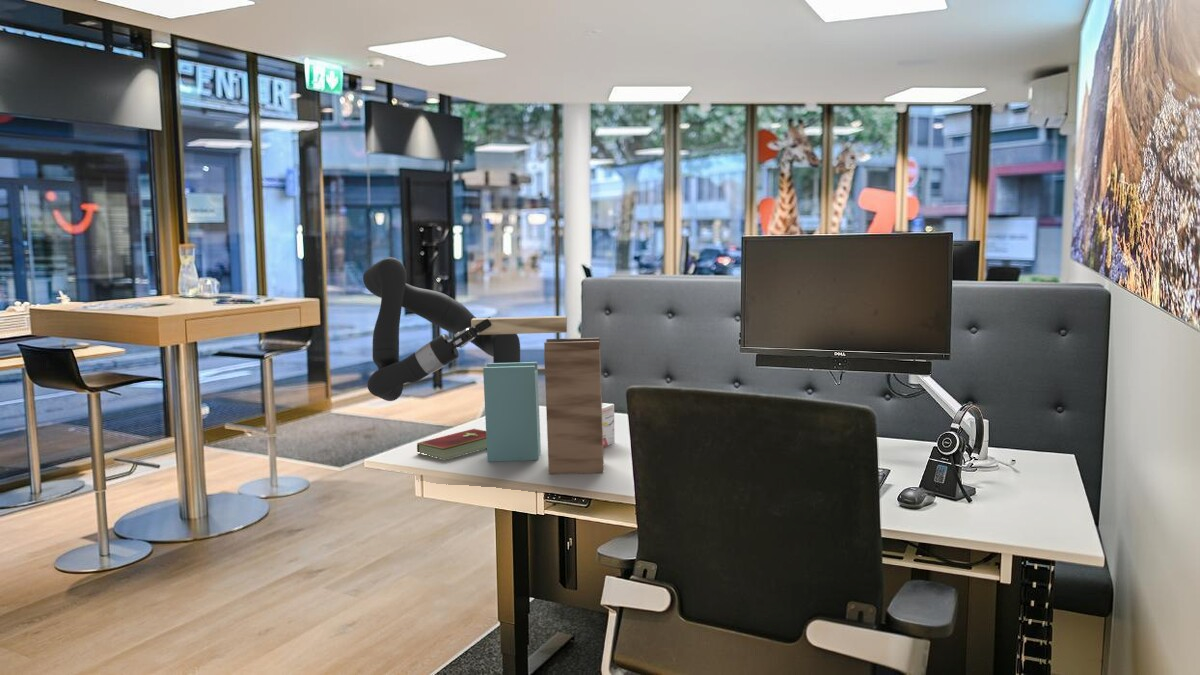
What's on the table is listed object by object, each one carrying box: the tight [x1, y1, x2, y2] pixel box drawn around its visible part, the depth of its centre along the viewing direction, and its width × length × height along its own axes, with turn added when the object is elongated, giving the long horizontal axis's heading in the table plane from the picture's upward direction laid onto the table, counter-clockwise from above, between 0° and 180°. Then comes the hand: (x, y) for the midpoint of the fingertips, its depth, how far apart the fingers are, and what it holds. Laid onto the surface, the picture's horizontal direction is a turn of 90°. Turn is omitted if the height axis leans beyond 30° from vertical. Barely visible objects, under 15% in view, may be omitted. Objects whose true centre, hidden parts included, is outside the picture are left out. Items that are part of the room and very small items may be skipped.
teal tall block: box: [482, 361, 542, 462], centre depth 239 cm, size 8×14×26 cm, turn 89°
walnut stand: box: [543, 337, 605, 475], centre depth 225 cm, size 10×14×34 cm
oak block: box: [471, 315, 568, 335], centre depth 229 cm, size 4×25×4 cm, turn 90°
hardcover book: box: [416, 428, 487, 460], centre depth 250 cm, size 12×21×4 cm, turn 139°
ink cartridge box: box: [602, 402, 616, 449], centre depth 250 cm, size 9×5×15 cm, turn 149°
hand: (490, 320), depth 229 cm, fingers closed on oak block, 4 cm apart
